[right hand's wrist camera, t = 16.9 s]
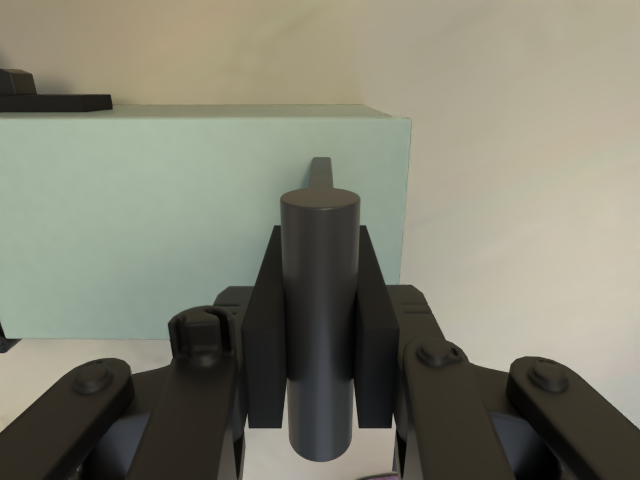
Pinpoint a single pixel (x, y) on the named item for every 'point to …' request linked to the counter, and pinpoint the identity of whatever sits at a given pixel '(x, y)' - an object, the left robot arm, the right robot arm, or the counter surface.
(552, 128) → the counter surface
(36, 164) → the lid
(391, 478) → the figurine
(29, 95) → the left robot arm
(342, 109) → the chest
